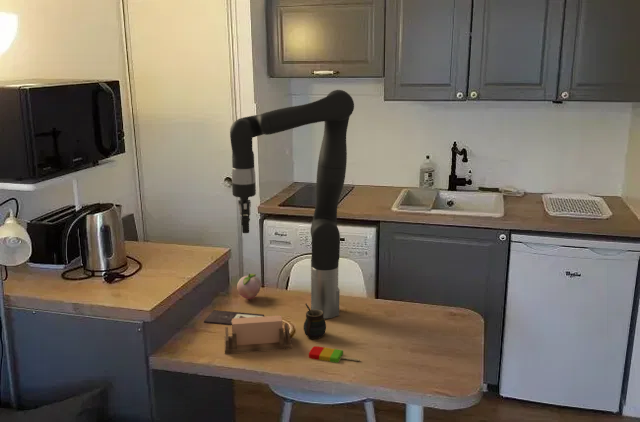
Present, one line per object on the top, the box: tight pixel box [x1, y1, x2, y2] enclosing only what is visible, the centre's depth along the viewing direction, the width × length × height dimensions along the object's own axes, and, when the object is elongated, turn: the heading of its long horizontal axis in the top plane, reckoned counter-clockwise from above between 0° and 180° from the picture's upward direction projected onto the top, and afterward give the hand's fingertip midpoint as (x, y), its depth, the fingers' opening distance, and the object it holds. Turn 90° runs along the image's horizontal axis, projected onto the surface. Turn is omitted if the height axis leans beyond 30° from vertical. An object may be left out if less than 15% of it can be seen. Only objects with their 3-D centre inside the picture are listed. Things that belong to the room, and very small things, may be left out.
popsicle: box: [308, 345, 361, 364], centre depth 174 cm, size 6×15×2 cm, turn 73°
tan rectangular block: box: [231, 315, 283, 345], centre depth 181 cm, size 15×4×7 cm, turn 99°
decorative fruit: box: [236, 273, 262, 300], centre depth 214 cm, size 9×8×10 cm
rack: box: [224, 322, 293, 355], centre depth 181 cm, size 20×9×6 cm, turn 99°
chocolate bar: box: [203, 309, 265, 326], centre depth 199 cm, size 9×1×18 cm
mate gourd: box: [303, 303, 327, 340], centre depth 187 cm, size 7×8×10 cm
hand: (245, 229), depth 196 cm, fingers open, 8 cm apart
